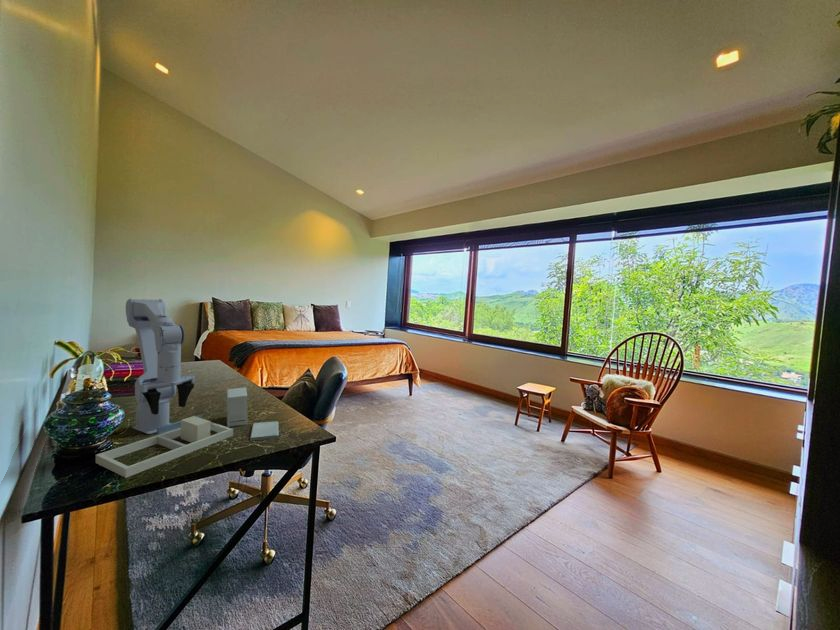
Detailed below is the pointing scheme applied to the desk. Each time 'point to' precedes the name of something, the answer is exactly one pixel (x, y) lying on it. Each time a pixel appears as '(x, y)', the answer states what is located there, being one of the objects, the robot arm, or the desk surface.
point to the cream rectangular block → (194, 429)
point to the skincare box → (236, 407)
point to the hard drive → (264, 431)
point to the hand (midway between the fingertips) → (168, 410)
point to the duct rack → (161, 438)
